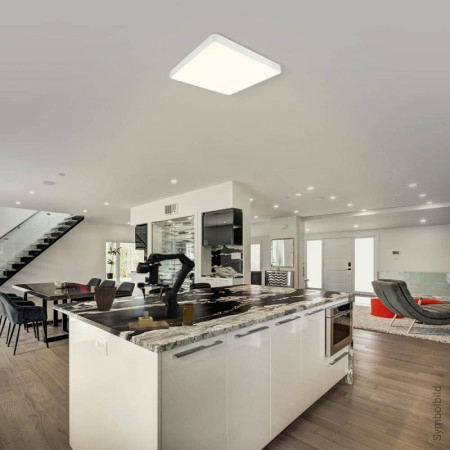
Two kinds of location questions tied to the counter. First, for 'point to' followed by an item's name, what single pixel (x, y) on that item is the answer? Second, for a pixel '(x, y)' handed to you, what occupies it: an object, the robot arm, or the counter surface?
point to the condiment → (188, 314)
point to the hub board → (155, 326)
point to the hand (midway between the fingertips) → (152, 299)
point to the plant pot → (104, 297)
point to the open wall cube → (145, 321)
